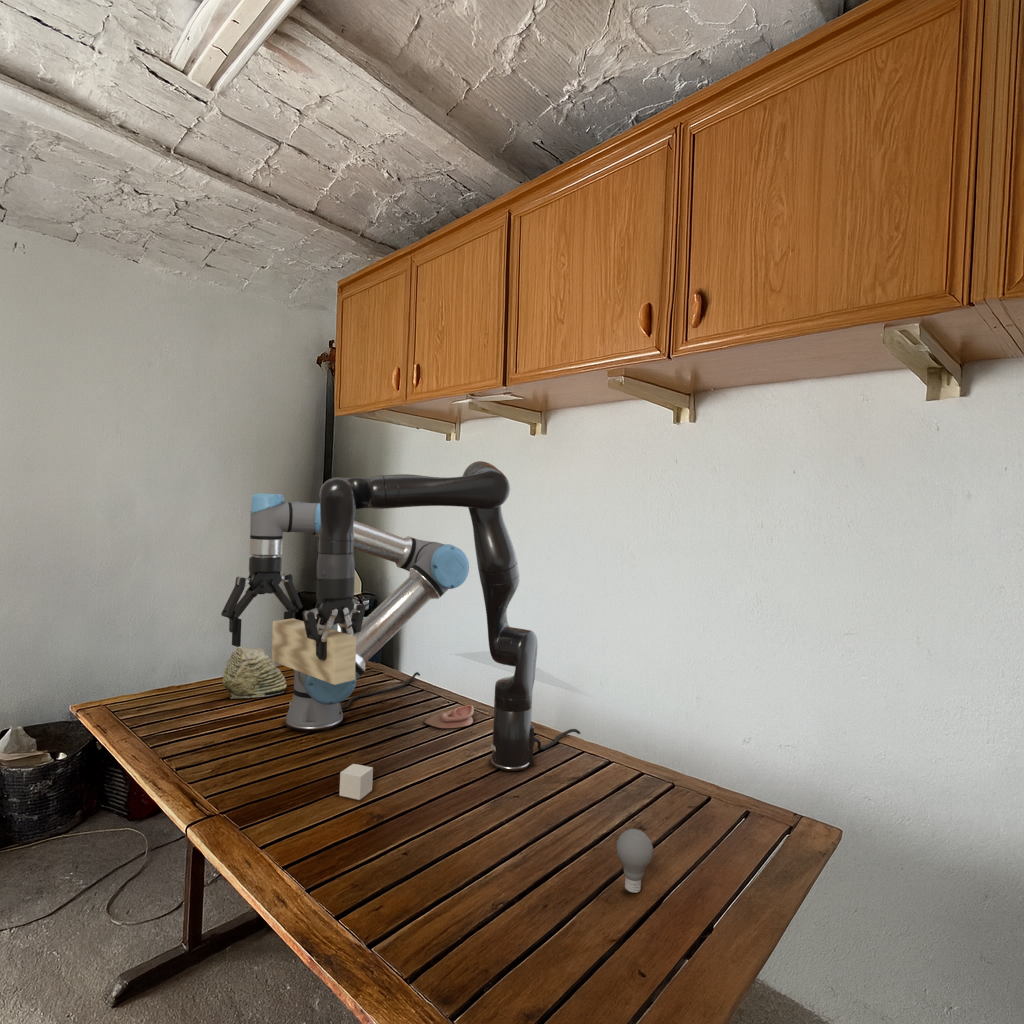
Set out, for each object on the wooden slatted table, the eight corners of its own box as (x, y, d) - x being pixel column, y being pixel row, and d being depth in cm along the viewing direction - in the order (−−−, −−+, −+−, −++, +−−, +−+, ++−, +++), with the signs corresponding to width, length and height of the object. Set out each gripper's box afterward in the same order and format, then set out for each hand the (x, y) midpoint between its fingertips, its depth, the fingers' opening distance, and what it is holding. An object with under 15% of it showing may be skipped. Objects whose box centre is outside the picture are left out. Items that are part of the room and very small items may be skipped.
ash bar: (271, 661, 142) (272, 621, 141) (292, 657, 146) (293, 618, 145) (334, 685, 126) (335, 640, 126) (355, 679, 130) (356, 636, 130)
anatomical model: (421, 711, 177) (434, 699, 188) (420, 725, 177) (433, 712, 188) (466, 717, 174) (477, 704, 186) (466, 731, 174) (476, 717, 186)
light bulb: (610, 879, 108) (613, 822, 108) (644, 879, 109) (647, 822, 109) (619, 902, 102) (622, 840, 102) (655, 901, 103) (658, 840, 103)
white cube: (352, 785, 139) (353, 763, 139) (372, 790, 138) (373, 767, 138) (339, 795, 135) (340, 772, 135) (359, 800, 133) (360, 776, 133)
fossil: (218, 695, 195) (220, 647, 195) (278, 685, 208) (279, 640, 207) (228, 703, 189) (230, 653, 188) (289, 692, 201) (290, 645, 201)
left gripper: (301, 552, 168) (298, 632, 169) (207, 556, 149) (204, 646, 149) (318, 555, 164) (315, 637, 164) (223, 559, 144) (220, 652, 145)
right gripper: (354, 570, 138) (352, 647, 138) (294, 575, 127) (292, 659, 127) (375, 573, 133) (373, 654, 134) (315, 579, 122) (313, 667, 123)
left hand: (262, 641), depth 157 cm, fingers open, 13 cm apart
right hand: (333, 656), depth 130 cm, fingers closed on ash bar, 5 cm apart
